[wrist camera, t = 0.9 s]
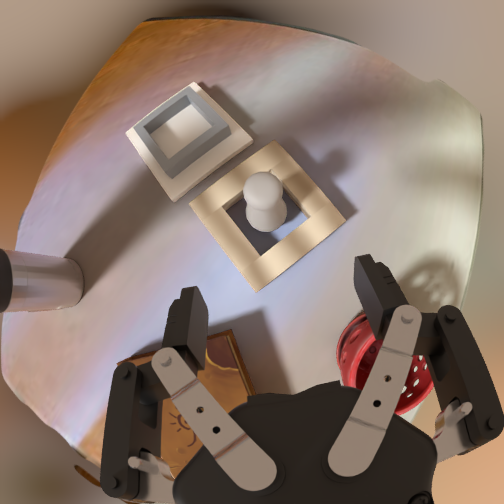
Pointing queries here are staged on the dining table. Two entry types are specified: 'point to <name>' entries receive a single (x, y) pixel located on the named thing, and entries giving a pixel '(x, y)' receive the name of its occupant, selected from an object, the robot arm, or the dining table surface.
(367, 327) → the plant pot
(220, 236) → the birch holder block
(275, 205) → the salt shaker
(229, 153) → the socket plate
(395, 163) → the dining table surface
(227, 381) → the diary
